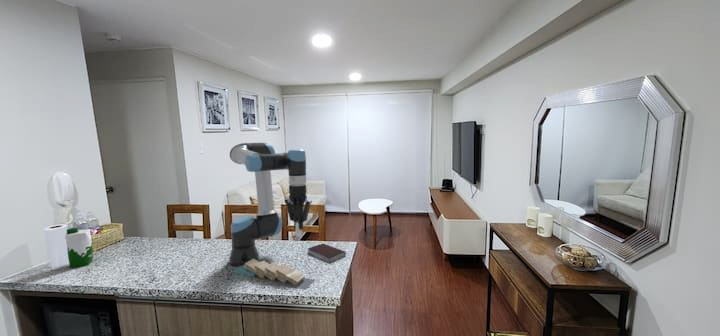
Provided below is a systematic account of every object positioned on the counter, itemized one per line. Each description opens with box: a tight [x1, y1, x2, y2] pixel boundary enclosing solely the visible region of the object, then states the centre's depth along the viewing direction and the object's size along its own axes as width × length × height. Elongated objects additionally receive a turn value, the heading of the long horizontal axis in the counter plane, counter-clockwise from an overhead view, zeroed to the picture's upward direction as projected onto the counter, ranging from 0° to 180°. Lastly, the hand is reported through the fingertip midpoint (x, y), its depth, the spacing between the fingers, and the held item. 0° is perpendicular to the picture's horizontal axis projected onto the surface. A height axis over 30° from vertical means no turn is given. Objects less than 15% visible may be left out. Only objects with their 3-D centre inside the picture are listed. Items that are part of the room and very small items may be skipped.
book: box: [307, 243, 347, 263], centre depth 160 cm, size 12×19×3 cm, turn 48°
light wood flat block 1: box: [244, 258, 266, 279], centre depth 136 cm, size 2×6×12 cm
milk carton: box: [64, 227, 94, 269], centre depth 149 cm, size 9×9×20 cm
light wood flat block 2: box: [265, 262, 287, 283], centre depth 131 cm, size 2×6×12 cm
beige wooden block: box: [254, 260, 277, 281], centre depth 134 cm, size 2×6×12 cm
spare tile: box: [233, 265, 256, 277], centre depth 138 cm, size 2×6×12 cm
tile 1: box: [275, 264, 306, 286], centre depth 129 cm, size 2×6×12 cm
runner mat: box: [249, 275, 316, 291], centre depth 131 cm, size 31×9×1 cm, turn 70°
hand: (298, 236), depth 126 cm, fingers closed
